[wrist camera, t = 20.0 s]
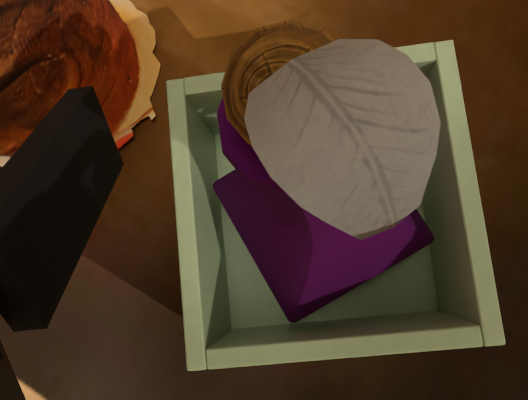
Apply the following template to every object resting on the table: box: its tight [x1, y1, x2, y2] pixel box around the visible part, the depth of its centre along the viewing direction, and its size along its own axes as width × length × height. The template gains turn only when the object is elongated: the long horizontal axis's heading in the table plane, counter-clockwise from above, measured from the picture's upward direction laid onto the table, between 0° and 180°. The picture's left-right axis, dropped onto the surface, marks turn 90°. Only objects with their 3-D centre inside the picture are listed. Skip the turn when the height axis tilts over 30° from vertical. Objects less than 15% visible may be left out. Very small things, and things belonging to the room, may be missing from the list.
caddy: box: [166, 40, 505, 371], centre depth 22 cm, size 12×12×7 cm
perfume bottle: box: [213, 20, 441, 323], centre depth 16 cm, size 8×8×18 cm
